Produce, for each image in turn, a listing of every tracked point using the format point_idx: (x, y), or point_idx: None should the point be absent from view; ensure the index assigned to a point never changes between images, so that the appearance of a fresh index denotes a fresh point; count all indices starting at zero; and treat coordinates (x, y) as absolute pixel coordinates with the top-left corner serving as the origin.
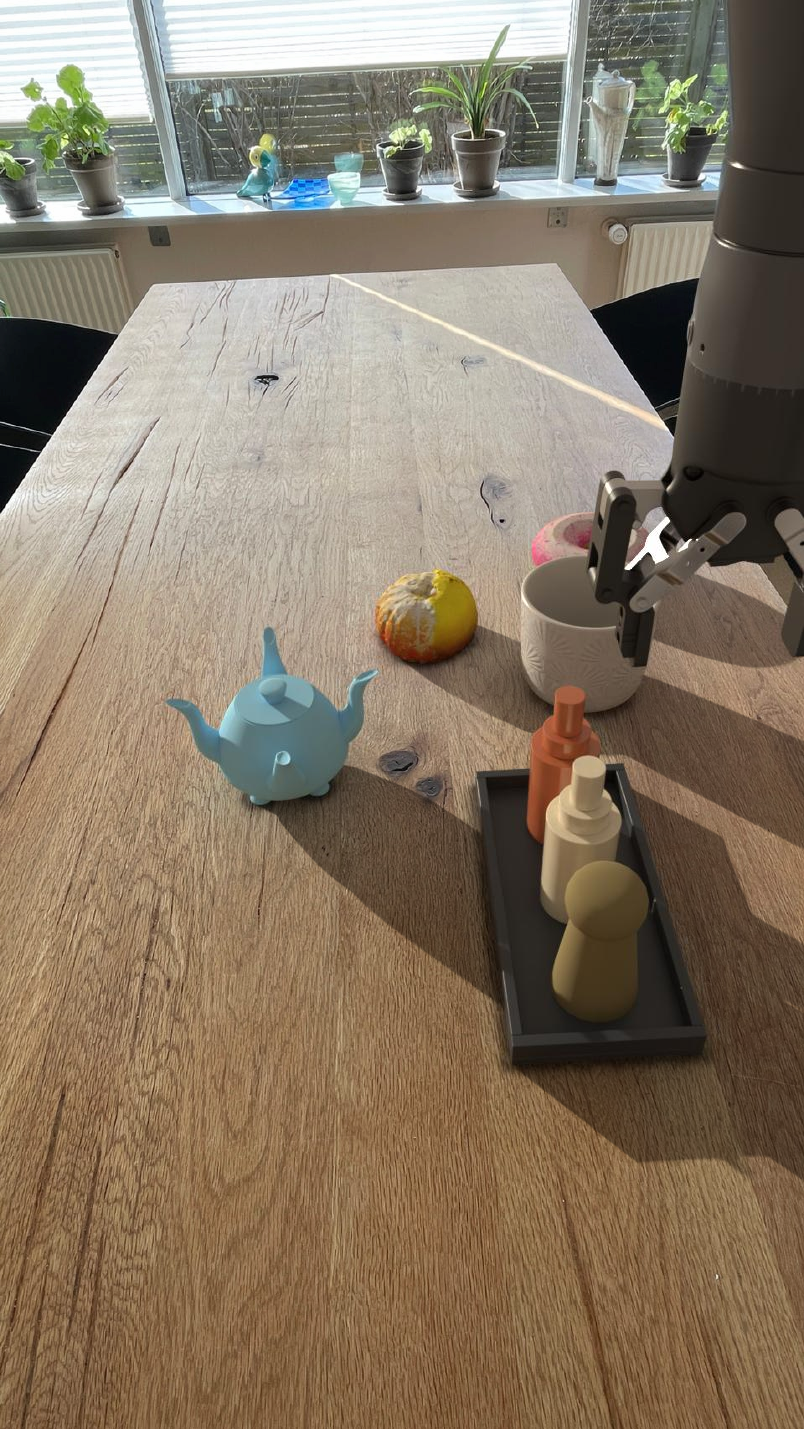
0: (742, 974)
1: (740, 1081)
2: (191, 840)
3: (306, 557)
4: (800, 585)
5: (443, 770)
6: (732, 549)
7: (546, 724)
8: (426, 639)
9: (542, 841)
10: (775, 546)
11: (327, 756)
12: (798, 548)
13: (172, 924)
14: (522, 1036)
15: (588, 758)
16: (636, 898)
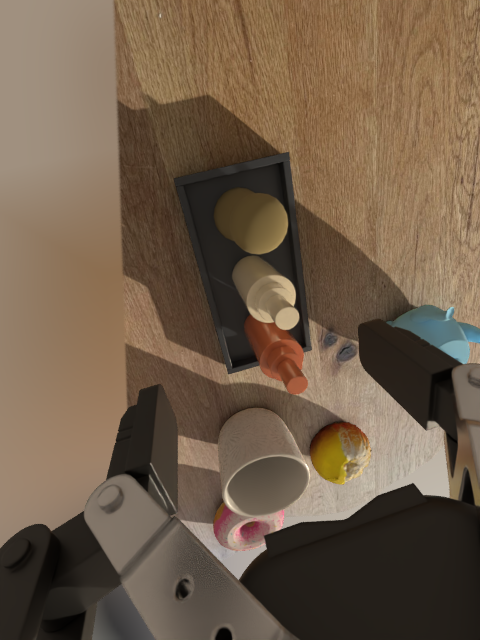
0: (151, 241)
1: (150, 163)
2: (451, 278)
3: (396, 478)
4: (168, 500)
5: (323, 352)
6: (409, 550)
7: (300, 367)
8: (342, 435)
9: None
10: (287, 594)
11: None
12: (229, 612)
13: (460, 220)
14: (283, 160)
15: (287, 326)
16: (243, 217)
